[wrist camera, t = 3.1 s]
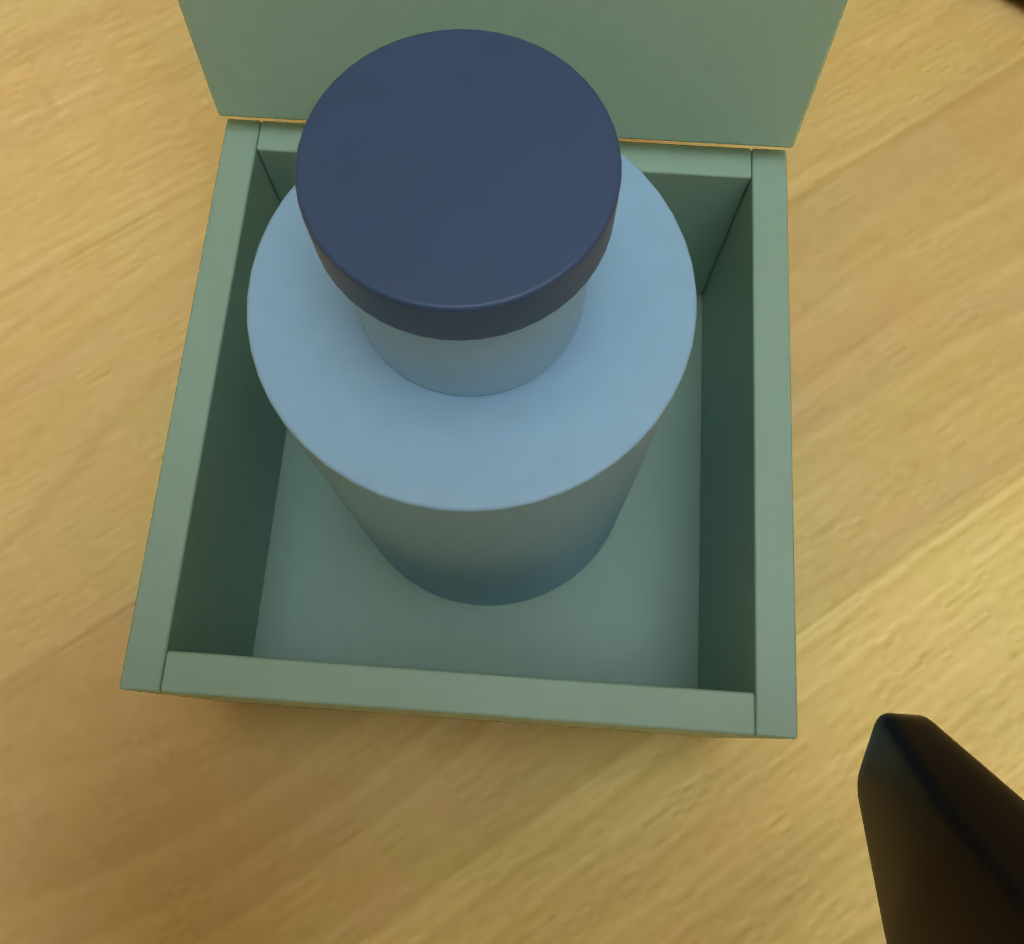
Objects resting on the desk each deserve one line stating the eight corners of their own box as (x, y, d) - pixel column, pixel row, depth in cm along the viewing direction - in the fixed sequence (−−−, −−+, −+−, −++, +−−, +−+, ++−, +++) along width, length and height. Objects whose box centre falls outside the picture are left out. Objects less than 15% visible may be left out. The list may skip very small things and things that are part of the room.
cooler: (721, 737, 20) (798, 738, 15) (224, 701, 20) (117, 689, 15) (723, 286, 23) (787, 149, 18) (294, 260, 24) (227, 117, 18)
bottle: (490, 665, 20) (454, 570, 8) (300, 473, 21) (44, 166, 10) (679, 469, 21) (871, 156, 10) (489, 300, 23) (460, -154, 11)
